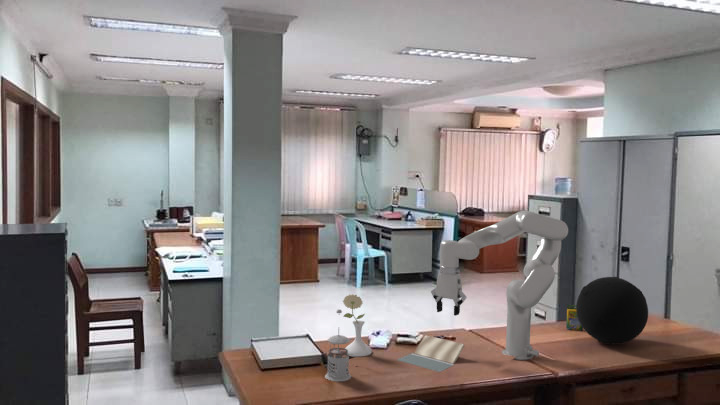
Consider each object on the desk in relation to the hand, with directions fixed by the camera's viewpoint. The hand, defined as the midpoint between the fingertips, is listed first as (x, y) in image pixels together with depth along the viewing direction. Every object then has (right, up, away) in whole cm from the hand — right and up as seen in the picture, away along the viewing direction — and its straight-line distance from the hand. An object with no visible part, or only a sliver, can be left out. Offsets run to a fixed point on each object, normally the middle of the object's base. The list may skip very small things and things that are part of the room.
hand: (447, 312), depth 237 cm
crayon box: (+69, -17, +44) cm, 83 cm away
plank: (-4, -15, -4) cm, 16 cm away
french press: (-45, -19, -25) cm, 54 cm away
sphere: (+76, -18, +22) cm, 82 cm away
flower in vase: (-38, -17, -1) cm, 42 cm away
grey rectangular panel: (-11, -18, -12) cm, 24 cm away
